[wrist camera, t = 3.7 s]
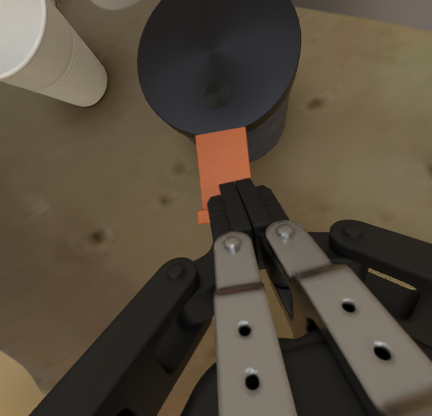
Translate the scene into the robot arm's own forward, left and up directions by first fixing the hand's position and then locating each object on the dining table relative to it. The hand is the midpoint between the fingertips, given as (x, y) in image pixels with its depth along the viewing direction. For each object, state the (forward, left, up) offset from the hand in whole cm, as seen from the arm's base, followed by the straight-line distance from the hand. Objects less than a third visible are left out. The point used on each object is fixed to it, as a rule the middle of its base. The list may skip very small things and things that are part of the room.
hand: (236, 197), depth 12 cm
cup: (-16, +21, -16) cm, 31 cm away
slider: (-1, +2, -5) cm, 5 cm away
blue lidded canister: (+1, +10, -16) cm, 19 cm away
